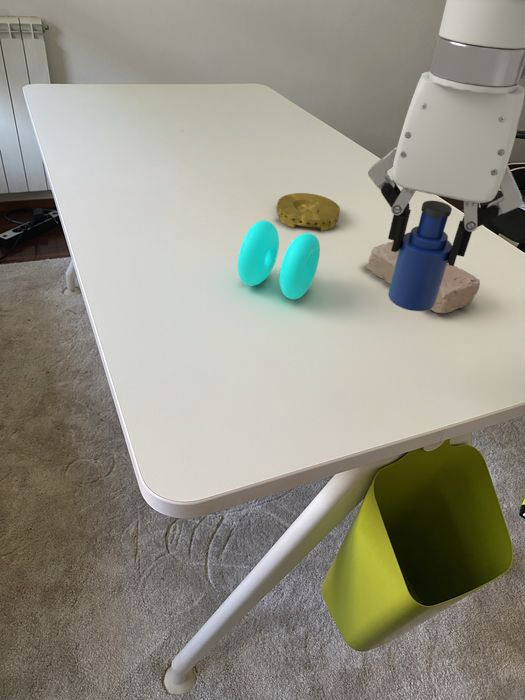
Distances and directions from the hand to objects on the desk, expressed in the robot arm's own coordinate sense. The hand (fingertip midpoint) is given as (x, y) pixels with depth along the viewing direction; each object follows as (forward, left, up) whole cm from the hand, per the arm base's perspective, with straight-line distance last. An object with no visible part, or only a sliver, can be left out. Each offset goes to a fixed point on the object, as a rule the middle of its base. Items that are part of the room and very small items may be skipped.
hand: (424, 251), depth 58 cm
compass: (+24, -41, -19) cm, 51 cm away
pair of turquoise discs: (+20, -14, -19) cm, 31 cm away
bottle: (0, 0, -6) cm, 6 cm away
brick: (0, -26, -19) cm, 32 cm away
